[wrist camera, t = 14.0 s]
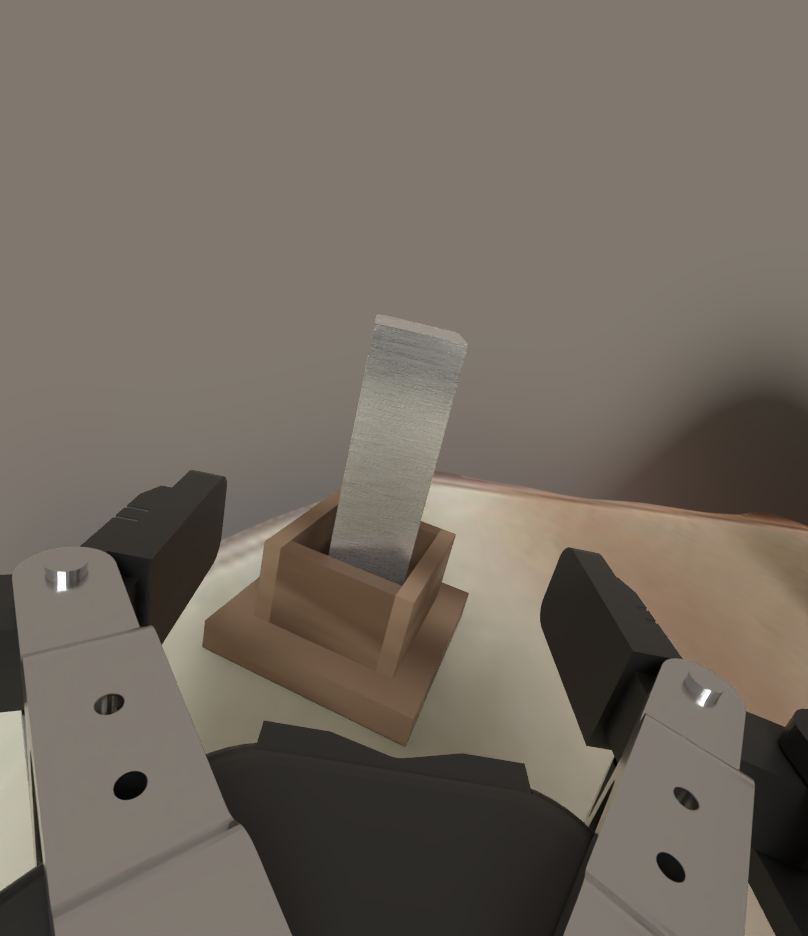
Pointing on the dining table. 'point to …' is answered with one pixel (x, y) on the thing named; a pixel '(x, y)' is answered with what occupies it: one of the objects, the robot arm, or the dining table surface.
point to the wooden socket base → (343, 624)
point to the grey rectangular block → (395, 444)
